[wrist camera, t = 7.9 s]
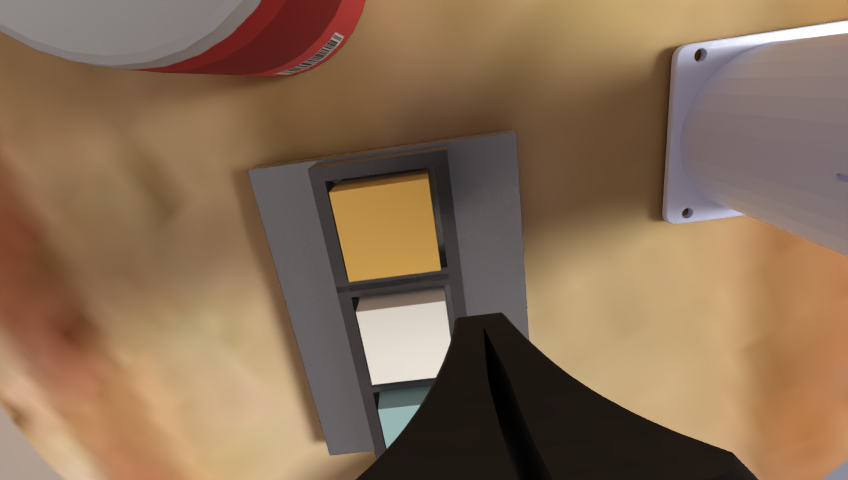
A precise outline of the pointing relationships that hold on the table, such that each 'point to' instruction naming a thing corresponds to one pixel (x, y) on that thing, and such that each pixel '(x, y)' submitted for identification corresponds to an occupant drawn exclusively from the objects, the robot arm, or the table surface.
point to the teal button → (399, 410)
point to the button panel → (338, 298)
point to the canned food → (186, 33)
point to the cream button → (404, 334)
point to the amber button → (386, 225)
